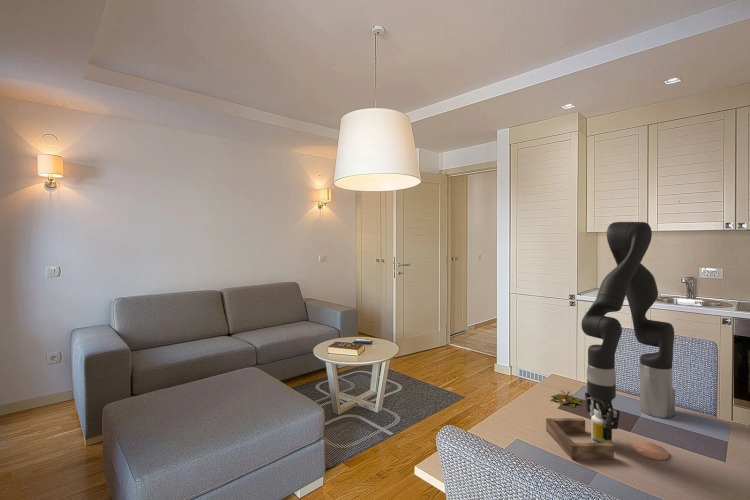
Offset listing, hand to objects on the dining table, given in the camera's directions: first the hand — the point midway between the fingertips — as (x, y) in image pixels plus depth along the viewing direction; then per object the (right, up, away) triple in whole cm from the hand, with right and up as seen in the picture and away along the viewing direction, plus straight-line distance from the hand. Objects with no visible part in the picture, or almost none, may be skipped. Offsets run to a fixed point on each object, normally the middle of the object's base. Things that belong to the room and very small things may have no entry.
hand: (601, 433), depth 112 cm
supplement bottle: (0, -3, 0) cm, 3 cm away
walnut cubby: (-7, -3, 0) cm, 8 cm away
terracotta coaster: (+12, -3, -4) cm, 13 cm away
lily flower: (+5, -3, +30) cm, 30 cm away
